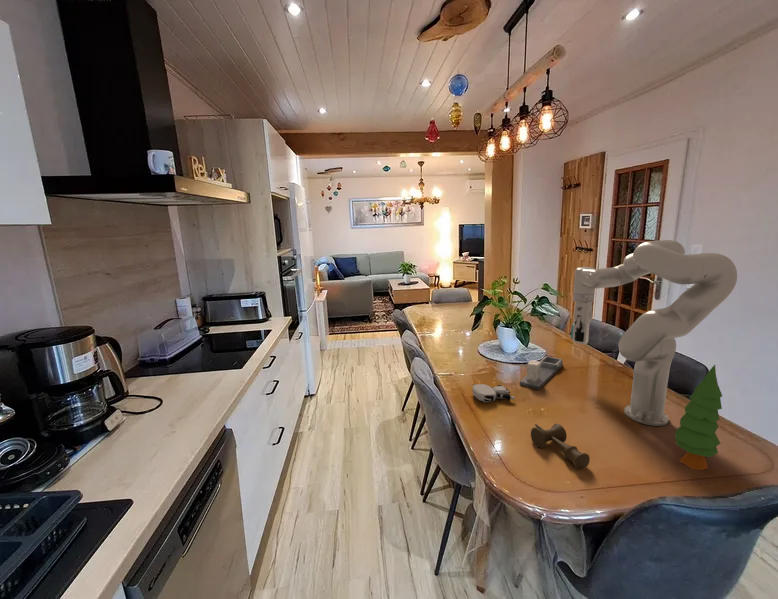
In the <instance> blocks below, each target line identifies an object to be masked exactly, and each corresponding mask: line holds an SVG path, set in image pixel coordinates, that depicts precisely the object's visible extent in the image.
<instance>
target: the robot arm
mask: <svg viewBox="0 0 778 599" xmlns="http://www.w3.org/2000/svg"><path fill="white" fill-rule="evenodd" d="M650 274H652V275H655V276H656V277H659V278H661V279H663V280H665V281H668V282H670V283H673V284H677V285H684V286H685V285H692V286H691V287H689V288H688V289H686V290H685V291H684V292H682V293H681V294H680V295H679V297H678V298H677V299H676V300H675V301H673V302H672V303H671V304H670V305H669V306H667V307H663V308H657V309H651V310H648V311H645V312H644V313H643V314H641V315H639V317H638V318H637V319H635V321H634V322H633V323H632V324H631V325H630V327H628V329H626V331H625V332H624V333H623V334H622V335H621V337H620V339H619V341H618V351H619V353H620V356H622V358H624V359H626V360H627V361H632V362H634V363H635V364H634V369H633V376H632V385H631V386H632V388H631V395H630V404H628V405H627V406H625V407H624V411H623V412H624V415H626V416H627V418H629V419H630V420H632V421H635V422H637V423H640V424H643V425H648V426H655V427H661V426H665V425H667V424H669V421H670V419H669V416H668V415H667V414H666V413H665V406H666V398H667V391H668V385H669V384H668V383H669V379H670V378H669V377H670V370H671V364H672V361H673V359H674V356H675V354H676V350H677V342H676V339H677V338H681V337H682V338H683V337H685V336H687V335H689V334H690V333H691V332H692V331H693V330H695V328H696V327H697V326H699V324H700V323H702V321H703V320H705V319H706V318H707V317H708V316H709V315H710V314H711V313H712V312H713V311H714V310H715V309H717V307H719V306H720V305H721V304H722V303H723V302H724V301H725V300H726V299H727V298H728V297H729V296H730V295H731V293H732V291H733V290H734V289H735V287H736V284H737V282H738V281H737V280H738V271H737V267H736V265H735V263H734V262H733V261H732V259H731V258H729V257H728V256H726V255H725V254H721V253H718V252H717V253H714V252H706V253H705V252H702V253H691V254H690V253H689V254H686V251H685V247H684V246H683V245H682V243H680V242H678V241H677V240H671V239H663V240H662V239H661V240H649V241H648V240H647V241H644V242H642V243H640V244H639V245H637V247H636V248H635V249H634V251H633V253H629V254H628V255H626V256H625V257H624V258H623V262H622V263H621V264H619V265H617V266H614V267H603V268H602V267H601V268H595V267H591V266H581V267H579V266H578V267H577V268H575V270H574V283H573V297H572V298H573V302H575V304H574V310H573V324H575V325H576V330H575V341H580V342H583V341H584V332H583V330H584V325H585V326H587V325H588V324H589V325H591V323H592V322H593V303H594V301H595V293H596V292H595V291H596V290H595V289H597V290H598V289H604V288H615V287H618V286H623V285H626V284H629V283H632V282H634V281H637V280H638V279H640V278H641V277H643V276H646V275H650ZM580 323H581V324H582V325H580ZM580 326H581V327H582V328H581V327H580Z"/></svg>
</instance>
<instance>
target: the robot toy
mask: <svg viewBox="0 0 778 599" xmlns="http://www.w3.org/2000/svg"><path fill="white" fill-rule="evenodd" d="M469 385H471V386H472V395H473V396H474V397H475V398H476V399H478V400H479V401H481V402H483V403H485V402H486V403H489V402H491V403H492V402H494V401H496V399H500V398H501V399H500V400H507V401H508V400H509V401H510V400H515V396H514V395H511V394H510V393H511V391H510V390H509V389H508V388H507V387H505V386H504V385H501V384H498V385H496V386H493V387H492V386H489V385H488V384H484V383H480V384H479V383H478V384H477V383H476V384H473V383H469Z"/></svg>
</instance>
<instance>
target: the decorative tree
mask: <svg viewBox="0 0 778 599" xmlns="http://www.w3.org/2000/svg"><path fill="white" fill-rule="evenodd" d="M716 372H717V371H716V364H714V365H713V366H711V368H710V369H709V370H708V372H707V373H706V375H705V376H704V378H703V379H702V380H701V381H700V383H699V384H697V386H696V387H695V388H694V391H693V393H692V394H691V395H690V396H689V399H690V400H689V402H688V403H687V404H686V406H685V407H684V412H685V413H684V414H683V415H682V416H681V418H680V420H679V427H678V428H677V429H676V430H675V435H674V439H675V441H676V442H675V445H677V446H678V447H679V448H681V449H683V450H684V451H686V452H687V453H685V454H684V455H683V456H682V457H681V458H680V459H679V462H681V463H682V464H684V465H686V466H687V467H689V468H690V469H693V470H699V471H703V470H707V469H709V467H708V463H707V460H706V459H707V458H711V457H713V456H715V455H717V454H719V451H718V448H717V446H719V445H721V441H720V440H719V438H718V435H717V433H716V432H717V430H718V429H719V425H718V421H720V415H719V410H722V409H723V407H722V402H721V401H722V400H721V398H722V397H723V394H722V392H721V389H720V386H719V383H718V379H717V377H718V376H717V373H716ZM706 457H707V458H706Z"/></svg>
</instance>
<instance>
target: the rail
mask: <svg viewBox="0 0 778 599" xmlns="http://www.w3.org/2000/svg"><path fill="white" fill-rule="evenodd" d="M563 366H564V362H563V359H562V358H559V357H554V356H548V355H545V356H544V357H543V358H542V359H541V360H535V359H531V360H530V361H528V362H527V367H526V368H527V369H526V376H524V377H523V378H522V379H521V380H520V381H519V386H522V385H523V387H526V386H527V387H526V388H530V389H533V388H534V390H537V391H539V390H541V389H542V388H543V386H544V385H545V384H546V383H547V382H549V380H550V379H552V377H553V376H554V375H555V374H556V373H557V372H558V371H560V369H562V368H563Z"/></svg>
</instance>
